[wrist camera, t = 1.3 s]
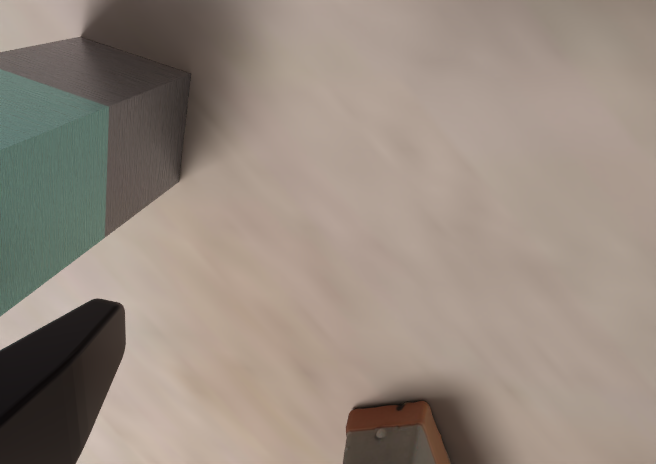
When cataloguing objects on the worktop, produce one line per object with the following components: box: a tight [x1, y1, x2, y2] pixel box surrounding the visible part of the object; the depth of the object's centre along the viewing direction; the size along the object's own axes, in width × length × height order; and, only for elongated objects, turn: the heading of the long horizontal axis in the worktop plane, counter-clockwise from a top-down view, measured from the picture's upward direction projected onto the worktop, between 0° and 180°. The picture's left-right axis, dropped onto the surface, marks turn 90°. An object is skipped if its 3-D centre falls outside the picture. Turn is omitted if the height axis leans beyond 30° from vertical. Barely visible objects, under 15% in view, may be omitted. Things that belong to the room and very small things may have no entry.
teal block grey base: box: [0, 37, 191, 316], centre depth 18 cm, size 5×5×11 cm
